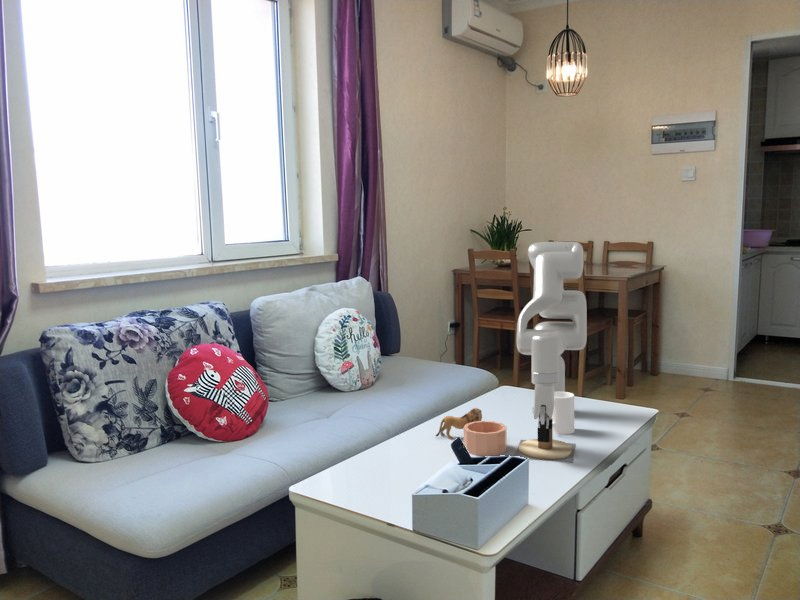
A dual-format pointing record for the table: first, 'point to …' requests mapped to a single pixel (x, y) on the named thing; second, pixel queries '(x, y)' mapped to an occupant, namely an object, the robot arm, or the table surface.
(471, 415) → the lion figurine
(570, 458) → the mat
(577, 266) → the robot arm
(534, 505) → the table surface
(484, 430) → the bowl
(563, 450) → the lid
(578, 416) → the table surface
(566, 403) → the mug
